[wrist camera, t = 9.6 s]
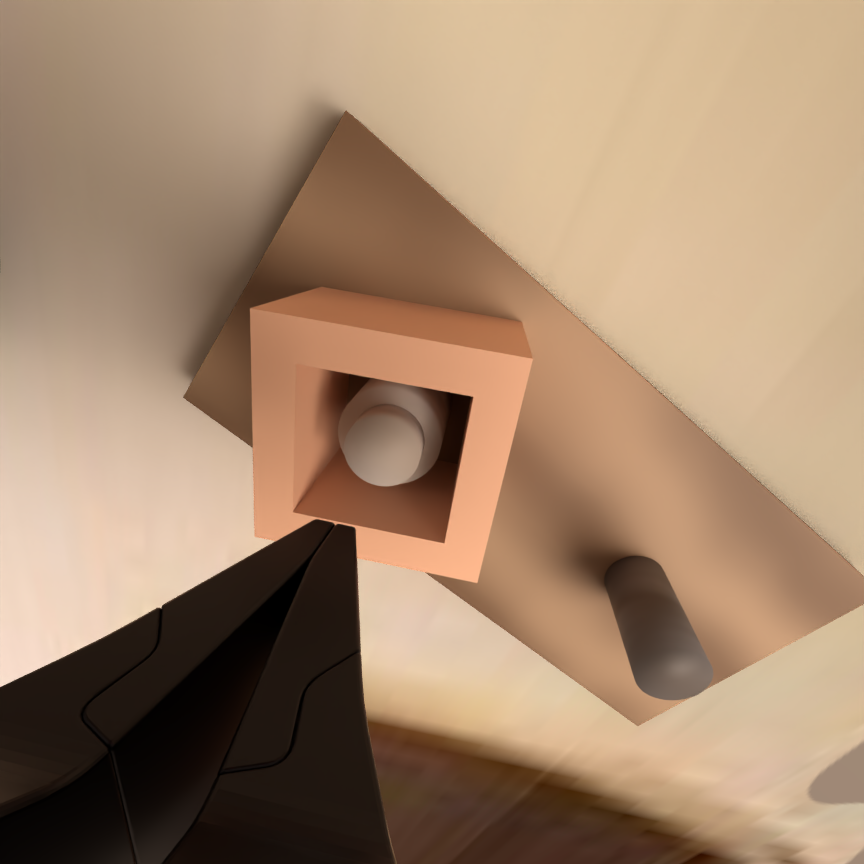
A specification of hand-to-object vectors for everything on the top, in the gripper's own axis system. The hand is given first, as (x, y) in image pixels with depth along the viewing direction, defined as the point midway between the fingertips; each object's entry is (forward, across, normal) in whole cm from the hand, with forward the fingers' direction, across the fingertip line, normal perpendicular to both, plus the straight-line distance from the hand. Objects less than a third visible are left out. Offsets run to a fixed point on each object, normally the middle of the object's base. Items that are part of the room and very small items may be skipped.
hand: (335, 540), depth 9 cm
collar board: (+10, -5, +3) cm, 12 cm away
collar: (+8, 0, 0) cm, 9 cm away
